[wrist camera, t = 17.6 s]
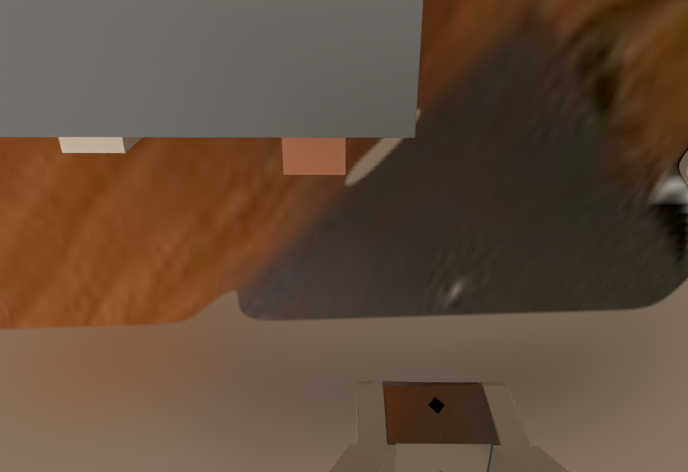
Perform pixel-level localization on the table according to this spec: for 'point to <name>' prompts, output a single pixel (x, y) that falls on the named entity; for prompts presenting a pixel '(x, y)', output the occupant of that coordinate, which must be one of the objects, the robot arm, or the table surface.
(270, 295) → the table surface
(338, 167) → the rust plug
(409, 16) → the block
